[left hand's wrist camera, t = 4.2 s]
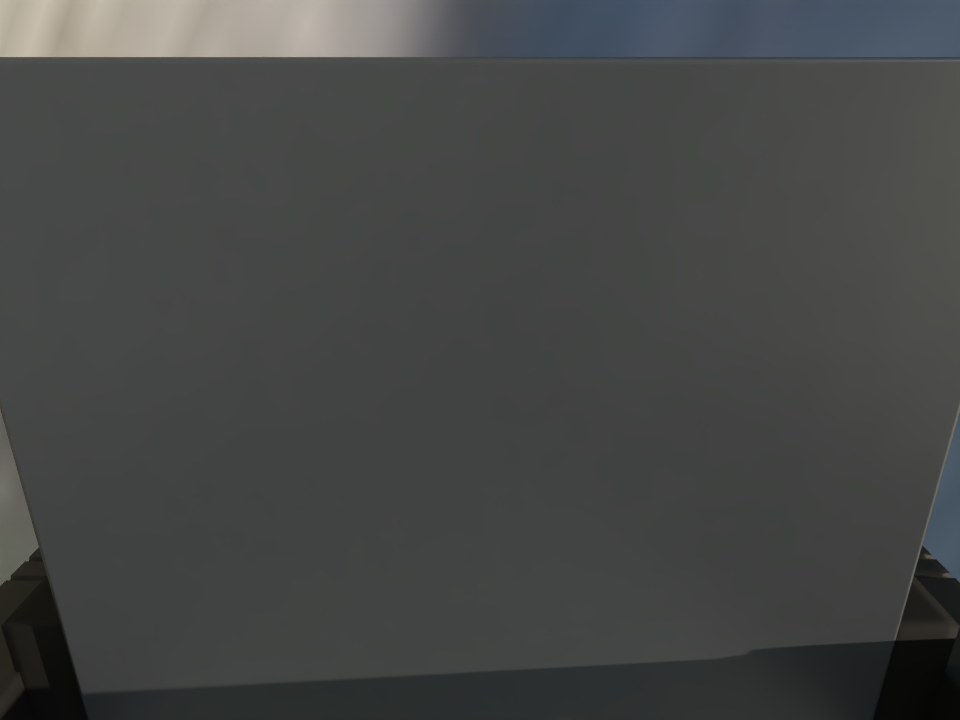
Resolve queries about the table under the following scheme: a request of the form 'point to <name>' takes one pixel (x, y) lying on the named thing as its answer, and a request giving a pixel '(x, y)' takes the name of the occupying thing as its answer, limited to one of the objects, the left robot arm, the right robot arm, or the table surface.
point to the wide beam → (480, 378)
